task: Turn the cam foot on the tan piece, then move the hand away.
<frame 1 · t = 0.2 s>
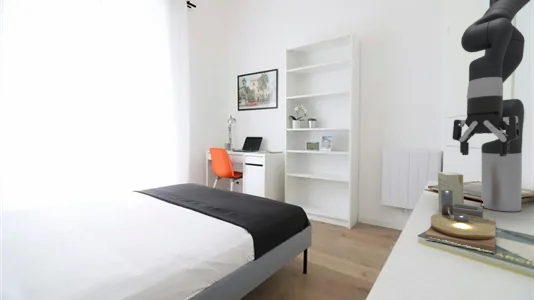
hand: (483, 155, 72), 17 cm above the table, tool pointing down, fingers open, 8 cm apart
tan piece: (462, 232, 63), on the table
skincare box: (450, 214, 77), on the table
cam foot: (460, 211, 60), point 6 cm above the table, hinge at 40.0°
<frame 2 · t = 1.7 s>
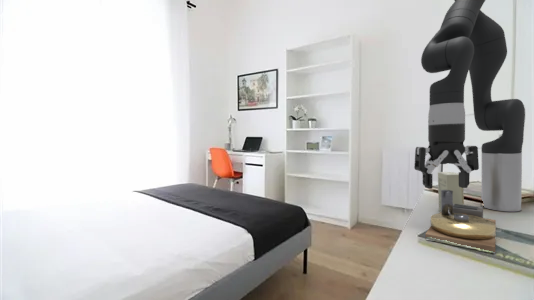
hand: (445, 187, 65), 11 cm above the table, tool pointing down, fingers open, 8 cm apart
nothing on the table moved.
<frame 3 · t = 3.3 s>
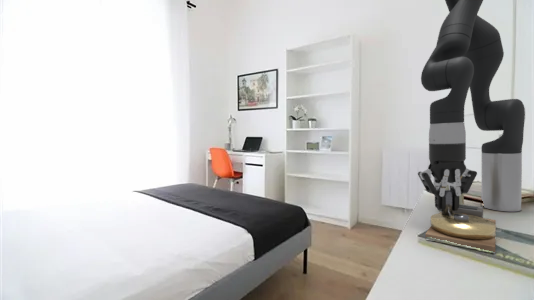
hand: (447, 209, 65), 5 cm above the table, tool pointing down, fingers closed on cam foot, 2 cm apart
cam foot: (460, 211, 60), point 6 cm above the table, hinge at 40.0°, touching gripper
everything else where it was.
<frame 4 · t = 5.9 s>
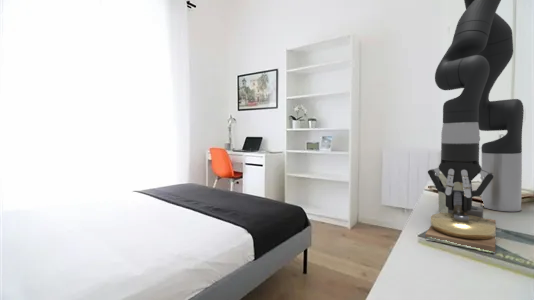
hand: (458, 210, 65), 5 cm above the table, tool pointing down, fingers closed on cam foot, 2 cm apart
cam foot: (461, 211, 60), point 6 cm above the table, hinge at 11.6°, touching gripper
everything else where it was.
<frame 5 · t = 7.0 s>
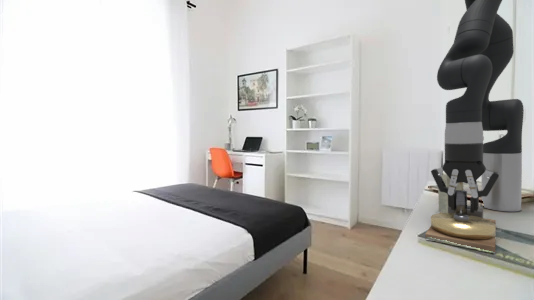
hand: (463, 210, 64), 5 cm above the table, tool pointing down, fingers open, 3 cm apart
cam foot: (461, 212, 60), point 6 cm above the table, hinge at 5.4°
everything else where it was.
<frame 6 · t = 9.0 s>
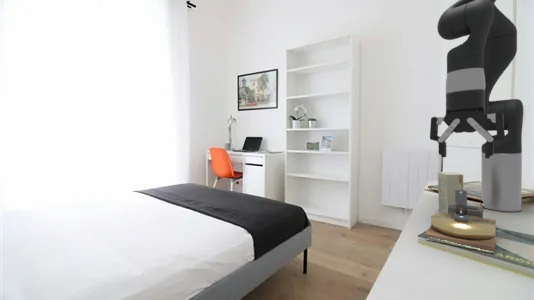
hand: (464, 157, 63), 18 cm above the table, tool pointing down, fingers open, 8 cm apart
nothing on the table moved.
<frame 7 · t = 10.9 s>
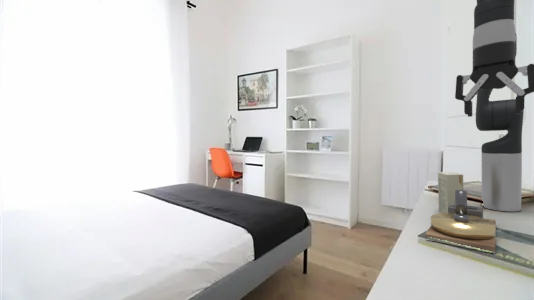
hand: (492, 115, 61), 28 cm above the table, tool pointing down, fingers open, 8 cm apart
nothing on the table moved.
at the end: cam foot at +5° (first picture: +40°); the gripper is holding nothing; skincare box moved 0.2 cm from its start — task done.
